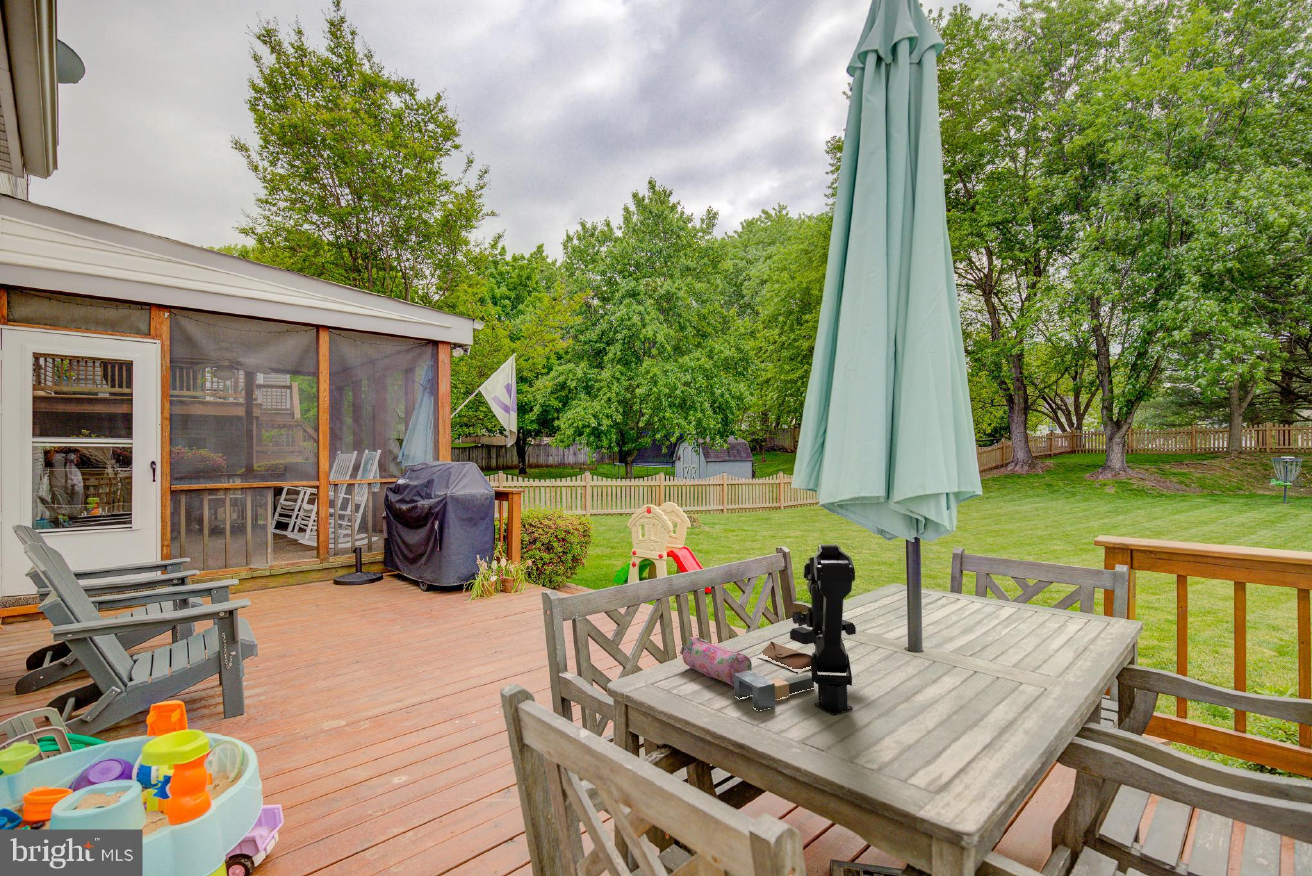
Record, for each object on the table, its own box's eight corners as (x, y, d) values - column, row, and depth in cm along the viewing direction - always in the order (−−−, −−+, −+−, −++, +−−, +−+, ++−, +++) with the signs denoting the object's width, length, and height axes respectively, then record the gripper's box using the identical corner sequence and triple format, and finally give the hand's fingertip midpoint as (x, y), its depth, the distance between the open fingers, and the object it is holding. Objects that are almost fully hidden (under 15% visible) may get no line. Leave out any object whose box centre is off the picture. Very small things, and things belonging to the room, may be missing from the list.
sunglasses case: (752, 656, 170) (759, 635, 172) (766, 664, 173) (773, 643, 176) (798, 674, 155) (806, 650, 158) (813, 682, 159) (820, 659, 161)
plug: (816, 690, 145) (815, 676, 145) (776, 700, 139) (776, 686, 139) (805, 684, 148) (805, 671, 148) (766, 695, 142) (766, 681, 142)
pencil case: (679, 669, 162) (678, 637, 162) (703, 662, 167) (703, 631, 167) (729, 693, 144) (728, 658, 144) (754, 684, 149) (753, 650, 150)
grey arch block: (775, 707, 135) (774, 683, 135) (758, 712, 132) (758, 687, 133) (750, 693, 144) (749, 670, 144) (734, 697, 141) (733, 673, 142)
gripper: (826, 594, 161) (828, 649, 160) (775, 603, 153) (777, 661, 152) (856, 602, 151) (858, 661, 150) (803, 612, 143) (805, 674, 142)
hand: (824, 663), depth 149 cm, fingers closed
